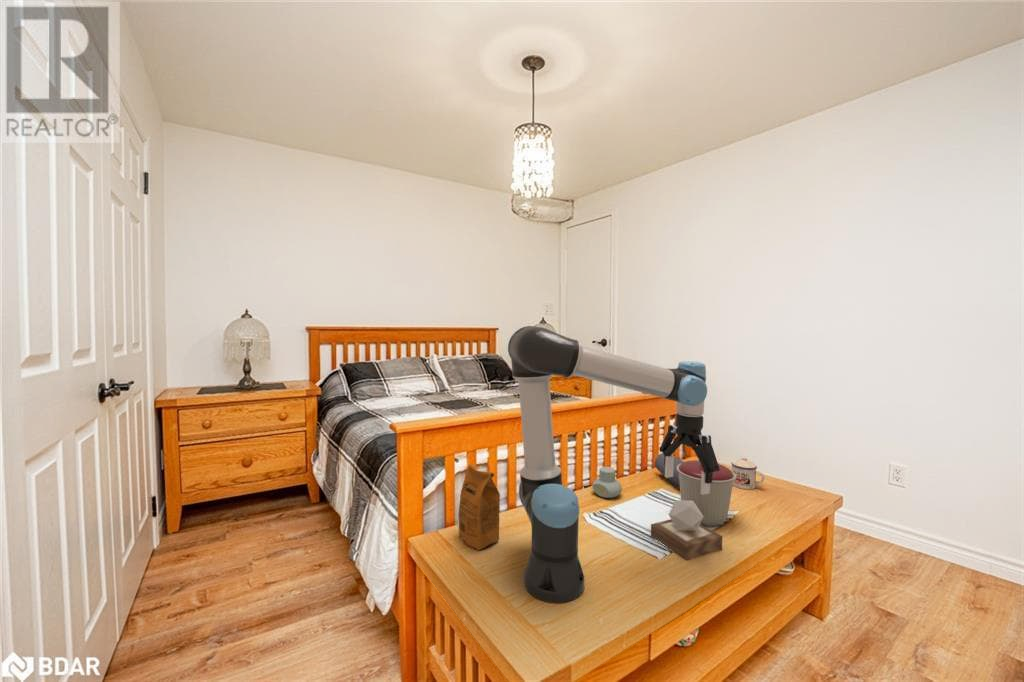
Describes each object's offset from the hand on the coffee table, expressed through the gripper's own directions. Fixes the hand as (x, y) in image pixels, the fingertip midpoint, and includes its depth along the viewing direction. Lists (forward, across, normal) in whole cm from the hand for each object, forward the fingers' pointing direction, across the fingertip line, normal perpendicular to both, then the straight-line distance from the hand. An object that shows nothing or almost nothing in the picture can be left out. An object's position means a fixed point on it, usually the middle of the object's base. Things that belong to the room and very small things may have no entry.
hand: (686, 484), depth 127 cm
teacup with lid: (+17, +22, -58) cm, 64 cm away
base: (+18, 0, -1) cm, 18 cm away
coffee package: (+19, +27, +55) cm, 64 cm away
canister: (+18, +9, -19) cm, 27 cm away
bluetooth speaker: (+18, +35, -34) cm, 52 cm away
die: (+14, 0, -1) cm, 14 cm away
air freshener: (+18, +38, -1) cm, 42 cm away
